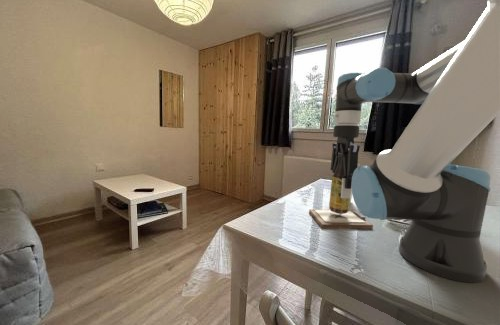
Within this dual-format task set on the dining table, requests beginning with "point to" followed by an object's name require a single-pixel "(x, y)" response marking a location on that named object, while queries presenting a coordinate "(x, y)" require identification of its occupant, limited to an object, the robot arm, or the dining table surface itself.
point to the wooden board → (340, 219)
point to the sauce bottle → (338, 190)
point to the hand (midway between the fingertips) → (340, 194)
